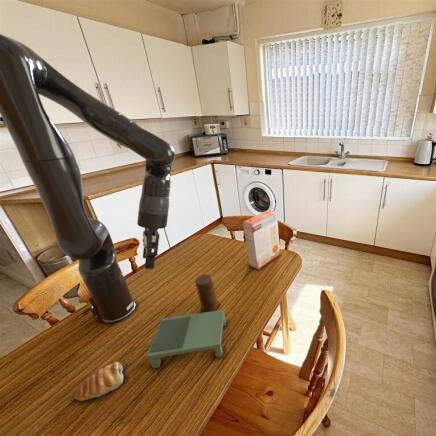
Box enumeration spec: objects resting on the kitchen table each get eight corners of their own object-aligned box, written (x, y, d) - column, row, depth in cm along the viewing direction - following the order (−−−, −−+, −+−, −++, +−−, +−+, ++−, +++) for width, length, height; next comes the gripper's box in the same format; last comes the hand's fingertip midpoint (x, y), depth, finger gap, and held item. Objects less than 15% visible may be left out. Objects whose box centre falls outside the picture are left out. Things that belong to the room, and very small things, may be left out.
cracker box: (270, 250, 111) (267, 209, 102) (280, 255, 107) (277, 212, 99) (248, 265, 101) (242, 220, 92) (257, 270, 98) (252, 224, 89)
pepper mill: (201, 314, 78) (193, 285, 72) (203, 303, 82) (196, 275, 77) (216, 312, 78) (210, 283, 73) (218, 301, 83) (212, 273, 78)
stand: (151, 369, 61) (145, 355, 59) (166, 330, 72) (161, 318, 70) (222, 356, 64) (219, 343, 62) (226, 321, 75) (224, 309, 72)
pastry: (76, 412, 53) (69, 402, 51) (77, 387, 58) (71, 377, 56) (125, 384, 58) (120, 374, 57) (122, 363, 63) (117, 354, 62)
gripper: (137, 204, 73) (132, 255, 75) (140, 214, 61) (133, 273, 64) (164, 207, 77) (159, 254, 79) (172, 216, 66) (165, 271, 68)
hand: (147, 263), depth 71 cm, fingers open, 8 cm apart
